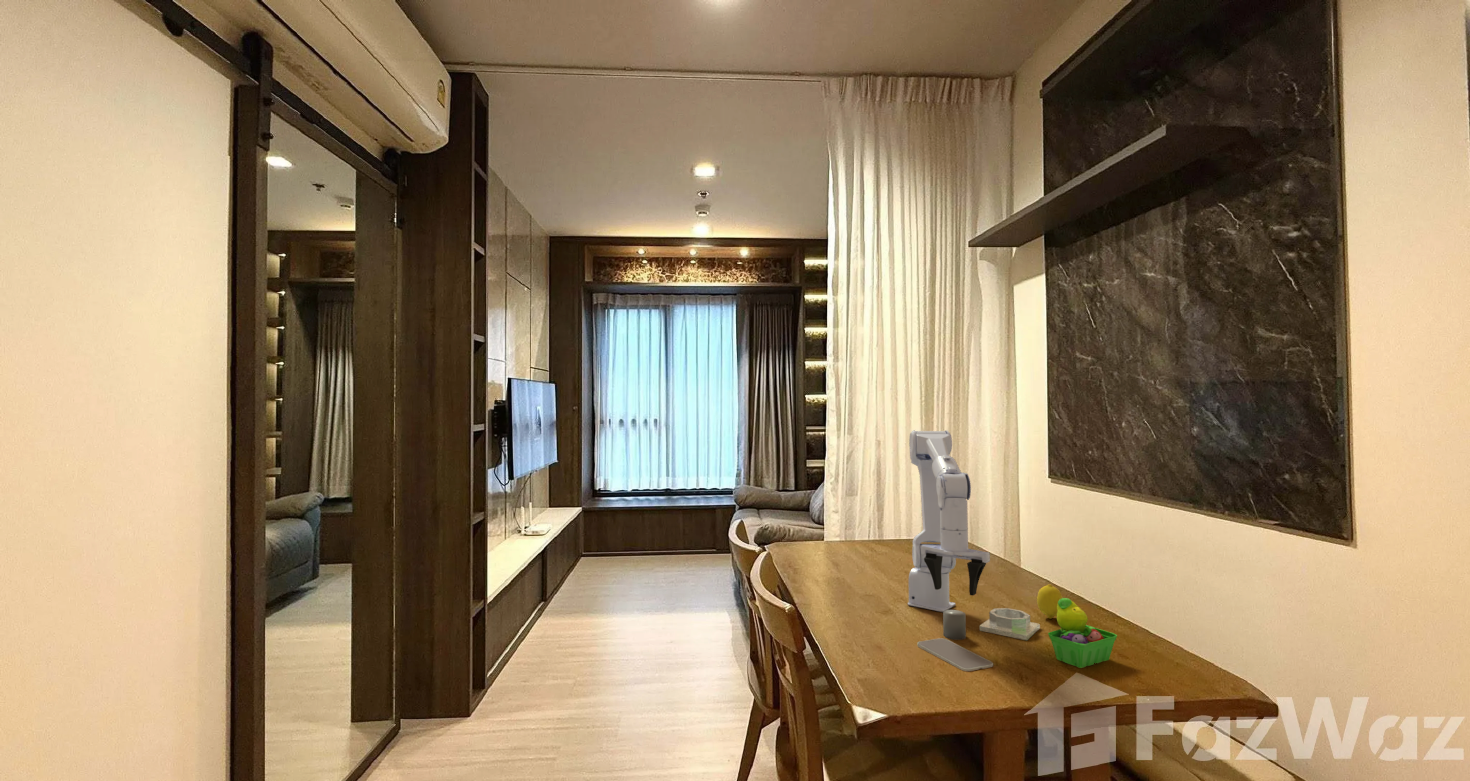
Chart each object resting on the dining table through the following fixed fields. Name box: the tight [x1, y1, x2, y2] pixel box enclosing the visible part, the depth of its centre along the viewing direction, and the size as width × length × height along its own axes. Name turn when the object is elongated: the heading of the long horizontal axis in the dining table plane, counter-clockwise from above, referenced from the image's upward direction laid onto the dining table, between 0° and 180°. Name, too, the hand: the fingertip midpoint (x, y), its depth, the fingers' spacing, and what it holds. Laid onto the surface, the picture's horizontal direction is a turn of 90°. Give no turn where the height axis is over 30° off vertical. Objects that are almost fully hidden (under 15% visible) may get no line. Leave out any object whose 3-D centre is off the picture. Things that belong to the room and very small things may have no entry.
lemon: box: [1036, 583, 1063, 619], centre depth 152 cm, size 6×6×8 cm
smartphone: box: [916, 637, 994, 672], centre depth 129 cm, size 7×1×15 cm
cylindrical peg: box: [942, 609, 967, 641], centre depth 140 cm, size 5×5×5 cm
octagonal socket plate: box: [979, 607, 1041, 641], centre depth 144 cm, size 10×10×4 cm
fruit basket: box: [1047, 597, 1118, 669], centre depth 127 cm, size 11×9×11 cm
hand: (955, 591), depth 140 cm, fingers open, 7 cm apart
